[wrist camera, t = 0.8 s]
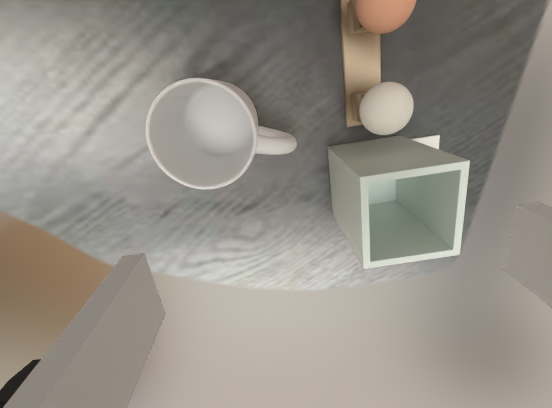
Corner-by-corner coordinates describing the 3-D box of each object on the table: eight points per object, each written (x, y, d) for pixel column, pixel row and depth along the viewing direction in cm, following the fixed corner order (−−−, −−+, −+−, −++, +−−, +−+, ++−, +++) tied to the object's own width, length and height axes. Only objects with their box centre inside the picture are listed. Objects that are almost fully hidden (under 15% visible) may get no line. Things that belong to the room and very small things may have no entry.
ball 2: (352, 86, 27) (368, 86, 22) (400, 78, 27) (425, 77, 22) (354, 134, 28) (369, 142, 24) (399, 127, 28) (422, 134, 24)
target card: (402, 140, 33) (404, 140, 33) (438, 134, 33) (440, 135, 33) (401, 197, 36) (403, 198, 35) (434, 192, 36) (436, 193, 35)
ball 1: (347, -20, 24) (365, -42, 19) (401, -29, 24) (430, -53, 19) (350, 41, 25) (366, 33, 21) (400, 33, 25) (427, 23, 21)
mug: (299, 97, 31) (316, 102, 21) (283, 172, 34) (291, 206, 24) (184, 72, 29) (147, 65, 20) (177, 152, 32) (142, 179, 23)
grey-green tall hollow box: (326, 146, 33) (359, 177, 22) (399, 135, 33) (469, 160, 22) (332, 212, 36) (363, 268, 25) (398, 202, 36) (459, 254, 25)
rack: (333, -115, 25) (347, -155, 21) (376, -122, 25) (398, -164, 20) (346, 126, 32) (358, 132, 28) (378, 121, 32) (395, 126, 28)
